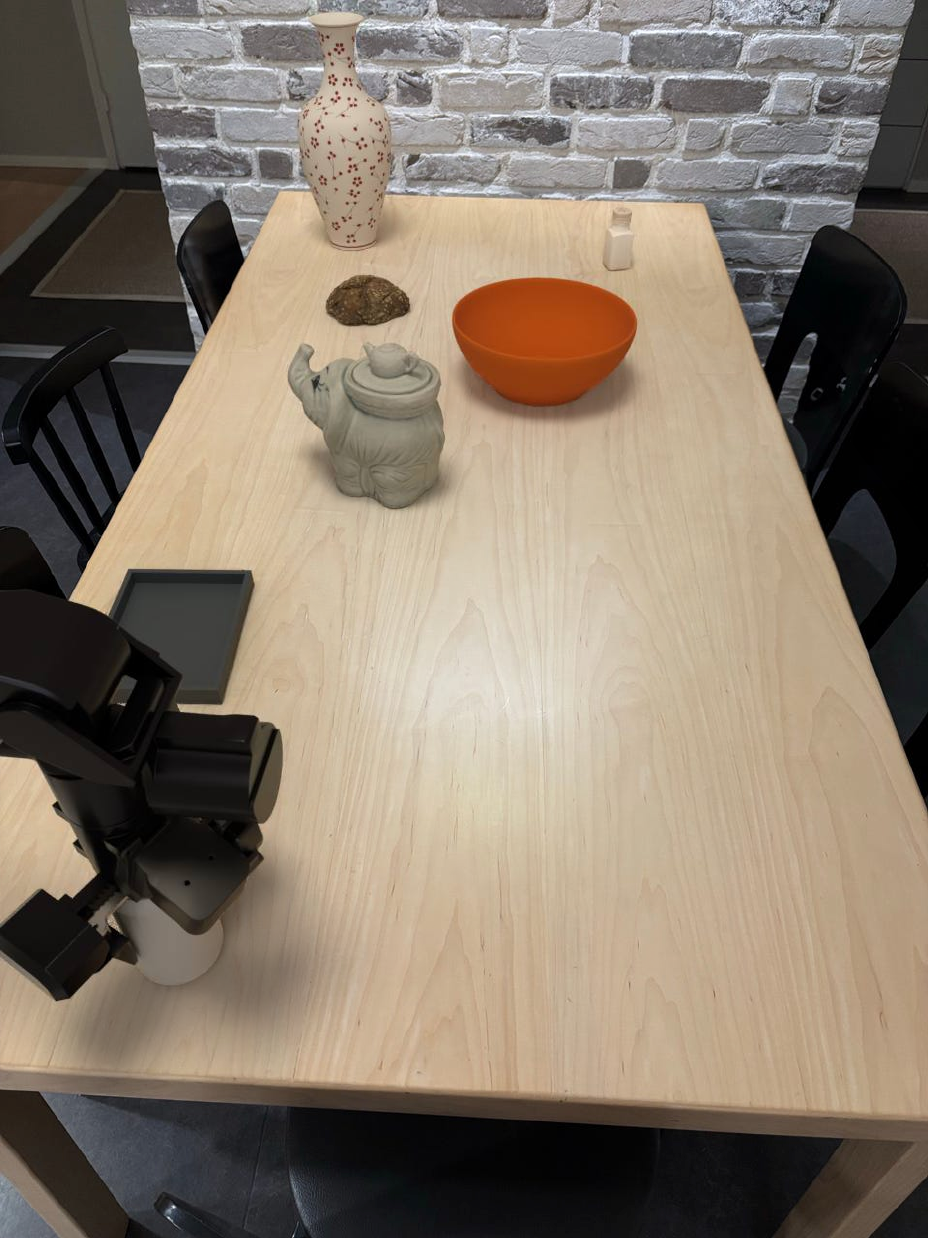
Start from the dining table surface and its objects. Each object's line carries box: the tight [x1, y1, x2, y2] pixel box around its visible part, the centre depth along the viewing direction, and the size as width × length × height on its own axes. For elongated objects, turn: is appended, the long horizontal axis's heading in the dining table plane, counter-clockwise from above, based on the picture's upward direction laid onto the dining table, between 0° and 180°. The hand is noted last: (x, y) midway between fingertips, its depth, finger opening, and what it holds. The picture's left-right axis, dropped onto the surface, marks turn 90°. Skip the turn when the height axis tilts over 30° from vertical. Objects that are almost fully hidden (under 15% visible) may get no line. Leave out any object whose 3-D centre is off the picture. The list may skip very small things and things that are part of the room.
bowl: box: [451, 276, 638, 408], centre depth 127 cm, size 25×25×10 cm
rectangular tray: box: [107, 568, 255, 705], centre depth 92 cm, size 17×13×2 cm
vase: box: [297, 11, 392, 251], centre depth 156 cm, size 16×16×35 cm
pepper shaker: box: [602, 206, 635, 271], centre depth 157 cm, size 4×4×10 cm
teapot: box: [287, 341, 446, 509], centre depth 106 cm, size 16×15×19 cm
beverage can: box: [111, 898, 224, 986], centre depth 64 cm, size 6×6×12 cm
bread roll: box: [325, 274, 411, 326], centre depth 146 cm, size 13×12×5 cm
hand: (170, 918), depth 65 cm, fingers closed on beverage can, 7 cm apart
